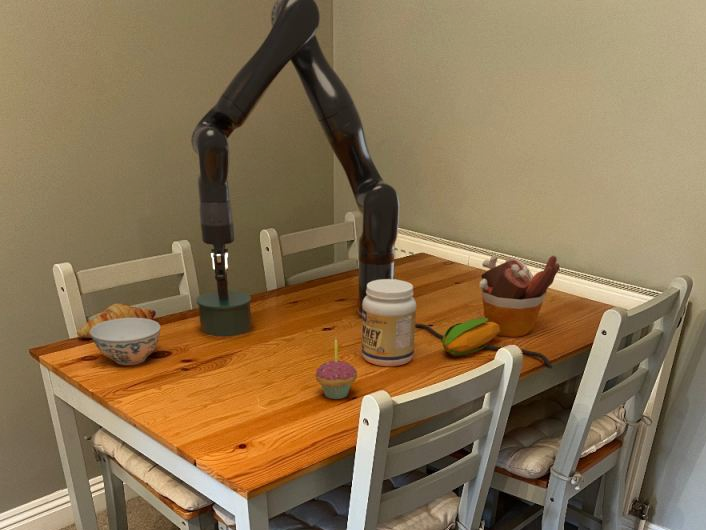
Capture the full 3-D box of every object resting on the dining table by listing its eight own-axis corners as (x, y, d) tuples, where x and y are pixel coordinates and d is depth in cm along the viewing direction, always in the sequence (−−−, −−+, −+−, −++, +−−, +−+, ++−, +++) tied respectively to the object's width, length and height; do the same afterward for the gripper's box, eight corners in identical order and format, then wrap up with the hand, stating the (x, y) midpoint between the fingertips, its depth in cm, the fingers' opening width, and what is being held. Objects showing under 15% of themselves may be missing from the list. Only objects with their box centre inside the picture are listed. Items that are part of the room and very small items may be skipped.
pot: (261, 327, 190) (259, 298, 186) (231, 341, 181) (229, 311, 177) (221, 319, 195) (219, 290, 191) (191, 333, 186) (188, 303, 182)
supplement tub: (351, 355, 174) (351, 283, 165) (391, 345, 181) (393, 274, 171) (383, 372, 166) (385, 296, 157) (424, 360, 172) (428, 287, 163)
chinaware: (129, 379, 161) (123, 345, 156) (82, 364, 167) (75, 331, 163) (178, 358, 171) (174, 325, 167) (132, 345, 178) (127, 313, 174)
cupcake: (315, 387, 159) (314, 332, 152) (355, 386, 159) (355, 331, 153) (317, 403, 151) (315, 347, 145) (358, 402, 152) (358, 346, 146)
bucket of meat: (461, 331, 190) (467, 251, 179) (489, 314, 201) (497, 238, 190) (534, 348, 180) (545, 264, 170) (559, 329, 192) (572, 250, 181)
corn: (435, 324, 171) (488, 305, 183) (431, 354, 175) (483, 335, 187) (459, 334, 167) (512, 315, 179) (455, 365, 171) (507, 344, 183)
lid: (261, 300, 187) (260, 275, 183) (229, 314, 177) (227, 289, 173) (218, 292, 192) (216, 268, 188) (185, 306, 182) (182, 281, 178)
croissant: (88, 357, 180) (89, 333, 174) (66, 329, 183) (66, 304, 176) (163, 334, 193) (167, 311, 186) (141, 309, 195) (144, 285, 189)
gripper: (232, 227, 168) (238, 299, 177) (233, 214, 180) (238, 282, 189) (199, 227, 167) (206, 300, 176) (201, 214, 179) (208, 283, 188)
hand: (223, 290), depth 182 cm, fingers open, 7 cm apart
